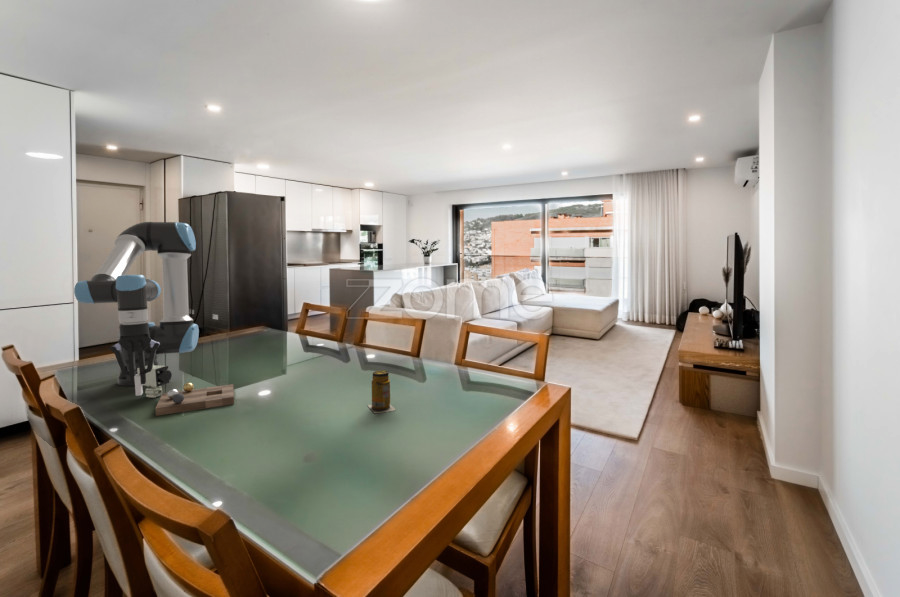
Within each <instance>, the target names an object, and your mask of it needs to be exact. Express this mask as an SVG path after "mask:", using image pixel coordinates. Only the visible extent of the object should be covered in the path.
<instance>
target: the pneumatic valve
mask: <svg viewBox="0 0 900 597" xmlns="http://www.w3.org/2000/svg"><path fill="white" fill-rule="evenodd" d="M147 366H148V365H145V369H147ZM136 374H140V370H139V367H138V368H136ZM171 378H172V372H171V371H170V369H169V365H162V364H160V366H159V365H154V364H153V367H152V370H151V371H150V372H148V373H146V383H145V384H142V386H146V388H145V394H146V398H151V399H155V398H157V397H161V395H162V394H163V393H164V391H163V387H162V386H164V385H166V384H169V383H170V381H171Z"/></svg>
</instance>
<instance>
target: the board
mask: <svg viewBox="0 0 900 597" xmlns="http://www.w3.org/2000/svg"><path fill="white" fill-rule="evenodd" d="M234 391H235V389H234V384H233V383H232V384H224V385H217V386H210V387H209V386H208V387H204V388H193V390H192V391H190V392H186V391H184V390H181V391H180V390H179V391H178V392H179V393H181V394H183V396H184V400H183V401H182V402H181V403H174V402H173V400H172V399H170V398H169V397H168V396H167V393H168V392H165V393H164V392H163V393H162V395H161V396H160V397H159V400H158V402H157V404H156V406H155V416H157V417H158V416H162V415H163V416H164V415H170V414H177V413H184V412H190V411H196V410H197V411H198V410H202V409H203V410H205V409H209V408H210V409H211V408H217V407H224V406H229V405H234V404H235V394H234V393H235V392H234Z"/></svg>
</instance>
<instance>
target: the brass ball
mask: <svg viewBox="0 0 900 597" xmlns="http://www.w3.org/2000/svg"><path fill="white" fill-rule="evenodd" d="M194 386H195V385H194V384H193V383H192V382H186V383H184V385H183V387H182V389H183V391H186V392H190V391H192V390H193V389H195V387H194Z"/></svg>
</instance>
